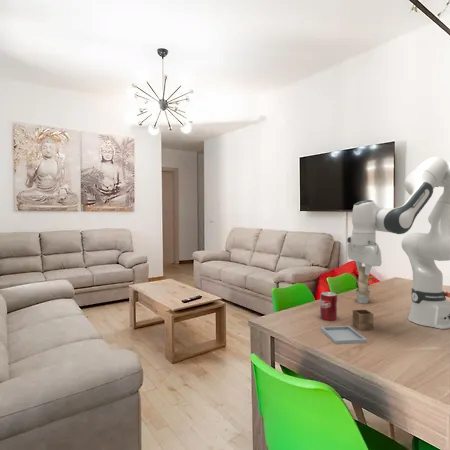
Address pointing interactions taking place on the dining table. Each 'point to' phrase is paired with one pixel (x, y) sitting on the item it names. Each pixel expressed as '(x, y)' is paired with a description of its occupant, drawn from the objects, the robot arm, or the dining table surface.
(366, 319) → the brown wooden box
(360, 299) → the house plant
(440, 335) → the dining table surface
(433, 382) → the dining table surface
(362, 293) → the dowel
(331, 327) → the tray
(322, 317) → the soda can
